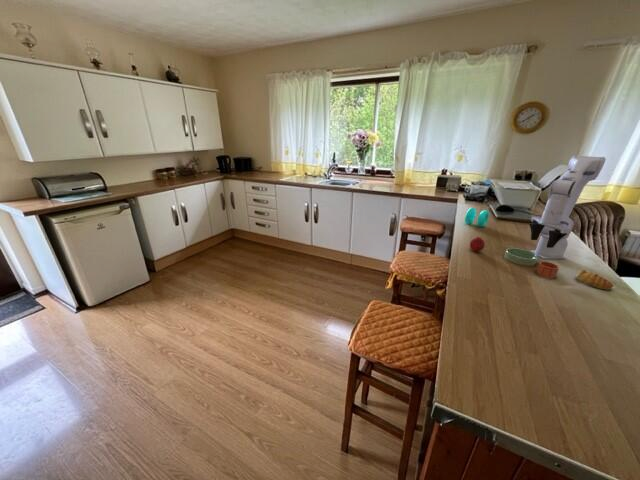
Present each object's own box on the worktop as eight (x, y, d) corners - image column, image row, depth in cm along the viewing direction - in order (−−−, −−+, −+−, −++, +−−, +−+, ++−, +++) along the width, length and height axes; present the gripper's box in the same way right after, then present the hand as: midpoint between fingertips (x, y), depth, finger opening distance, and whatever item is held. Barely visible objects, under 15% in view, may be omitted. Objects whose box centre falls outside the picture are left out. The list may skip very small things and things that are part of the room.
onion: (484, 255, 114) (489, 238, 111) (470, 254, 115) (474, 237, 112) (479, 249, 120) (484, 234, 116) (466, 248, 121) (470, 233, 117)
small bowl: (545, 271, 101) (549, 261, 100) (558, 278, 96) (563, 268, 95) (532, 271, 101) (536, 261, 99) (544, 278, 96) (548, 268, 94)
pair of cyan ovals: (468, 221, 159) (472, 205, 155) (486, 225, 152) (491, 209, 148) (462, 224, 152) (466, 208, 148) (480, 229, 146) (485, 212, 142)
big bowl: (521, 254, 115) (523, 247, 114) (542, 266, 105) (545, 259, 104) (498, 255, 115) (500, 248, 113) (516, 267, 105) (519, 259, 103)
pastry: (613, 287, 91) (618, 278, 90) (607, 293, 88) (612, 283, 86) (579, 275, 98) (583, 267, 97) (572, 280, 95) (576, 271, 94)
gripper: (528, 206, 105) (518, 236, 110) (561, 217, 91) (547, 251, 97) (545, 206, 105) (534, 236, 110) (579, 217, 92) (565, 251, 97)
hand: (541, 243), depth 104 cm, fingers open, 7 cm apart
